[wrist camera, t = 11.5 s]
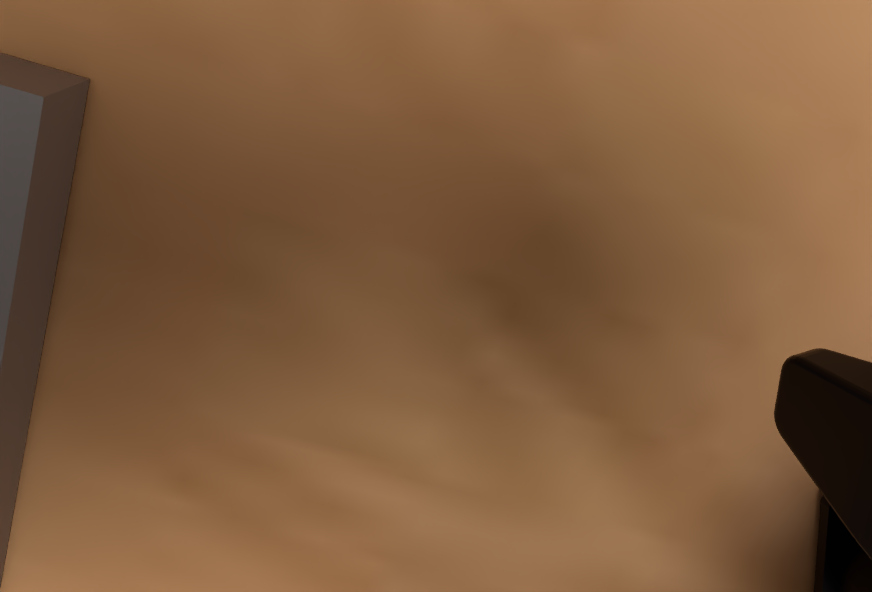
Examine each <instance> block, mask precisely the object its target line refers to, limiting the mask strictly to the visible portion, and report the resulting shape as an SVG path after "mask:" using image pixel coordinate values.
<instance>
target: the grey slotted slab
mask: <svg viewBox="0 0 872 592" xmlns="http://www.w3.org/2000/svg"><path fill="white" fill-rule="evenodd" d="M89 81H90V79H88V78H84V77H81V76H78V75H74V74H71V73H67V72H64V71H61V70H57V69H54V68H50V67H47V66H44V65H40V64H37V63H34V62H30V61H27V60H23V59H20V58H17V57H13V56H10V55H6V54H3V53H0V586H1V580H2V575H3V569H4V563H5V558H6V552H7V546H8V541H9V535H10V529H11V524H12V518H13V512H14V507H15V501H16V495H17V489H18V484H19V478H20V472H21V467H22V461H23V455H24V450H25V444H26V438H27V433H28V427H29V421H30V416H31V410H32V404H33V399H34V393H35V387H36V382H37V376H38V370H39V365H40V359H41V353H42V348H43V342H44V336H45V331H46V325H47V319H48V314H49V308H50V302H51V297H52V291H53V285H54V280H55V274H56V268H57V263H58V257H59V251H60V246H61V240H62V234H63V229H64V223H65V217H66V212H67V206H68V200H69V195H70V189H71V183H72V178H73V172H74V166H75V161H76V155H77V149H78V144H79V138H80V132H81V126H82V121H83V115H84V109H85V104H86V98H87V92H88V87H89Z"/></svg>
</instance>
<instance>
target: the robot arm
mask: <svg viewBox="0 0 872 592" xmlns="http://www.w3.org/2000/svg"><path fill="white" fill-rule="evenodd" d="M774 418H775V423H776V426H777V429H778V431H779V433H780V435H781V436H782V438H783V439H784V441H785V442H786V443H787V445H788V446H789V448H790V449H791V450H792V452H793V453H794V455H795V456H796V458H797V459H798V460H799V462H800V463H801V465H802V466H803V467H804V469H805V470H806V472H807V473H808V474H809V476H810V477H811V479H812V480H813V481H814V483H815V484H816V486H817V487H818V488H819V490H820V491H821V493H822V494H823V496H822V499H821V507H820V520H819V533H818V546H817V559H816V572H815V585H814V592H872V363H871V362H868V361H864V360H861V359H858V358H854V357H851V356H848V355H844V354H841V353H837V352H834V351H831V350H827V349H821V348H819V349H813V350H809V351H806V352H803V353H800V354H797V355H793V356H791V357H789V358H787V359H786V361H785V362H784V364H783V366H782V369H781V375H780V381H779V386H778V392H777V398H776V404H775V410H774Z"/></svg>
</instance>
